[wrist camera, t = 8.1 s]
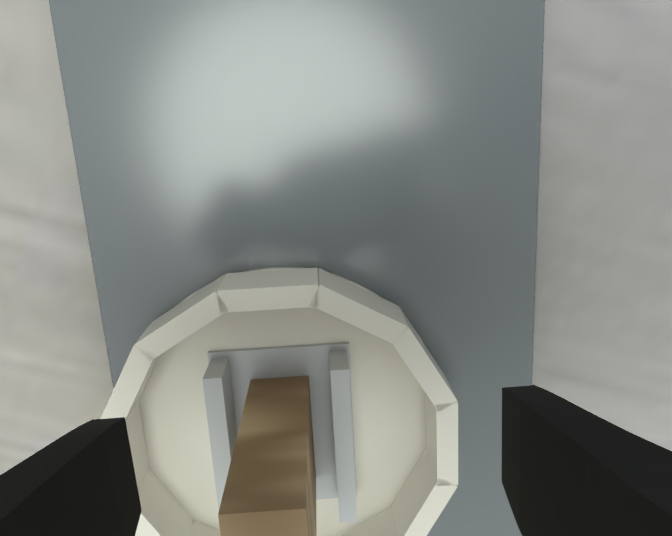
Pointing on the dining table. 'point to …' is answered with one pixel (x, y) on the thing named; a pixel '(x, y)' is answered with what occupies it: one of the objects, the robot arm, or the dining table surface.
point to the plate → (325, 394)
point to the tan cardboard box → (272, 463)
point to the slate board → (322, 174)
